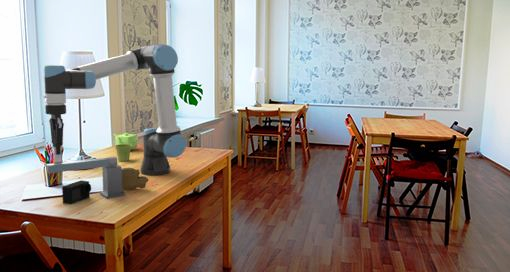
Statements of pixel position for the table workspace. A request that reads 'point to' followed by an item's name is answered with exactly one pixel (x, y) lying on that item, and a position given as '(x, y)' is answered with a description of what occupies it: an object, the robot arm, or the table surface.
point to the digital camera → (76, 192)
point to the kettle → (127, 139)
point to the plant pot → (123, 151)
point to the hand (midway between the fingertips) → (57, 161)
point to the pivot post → (112, 182)
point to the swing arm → (81, 164)
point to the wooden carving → (132, 179)
